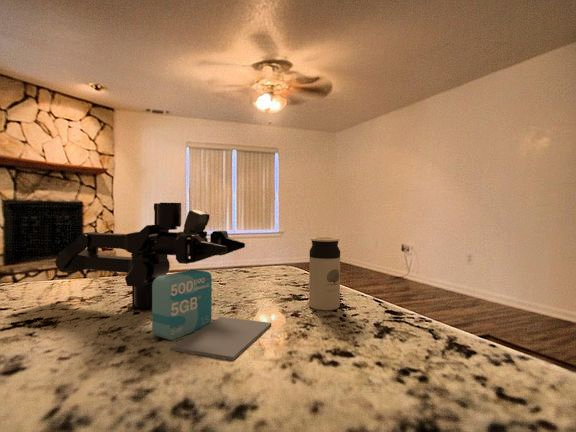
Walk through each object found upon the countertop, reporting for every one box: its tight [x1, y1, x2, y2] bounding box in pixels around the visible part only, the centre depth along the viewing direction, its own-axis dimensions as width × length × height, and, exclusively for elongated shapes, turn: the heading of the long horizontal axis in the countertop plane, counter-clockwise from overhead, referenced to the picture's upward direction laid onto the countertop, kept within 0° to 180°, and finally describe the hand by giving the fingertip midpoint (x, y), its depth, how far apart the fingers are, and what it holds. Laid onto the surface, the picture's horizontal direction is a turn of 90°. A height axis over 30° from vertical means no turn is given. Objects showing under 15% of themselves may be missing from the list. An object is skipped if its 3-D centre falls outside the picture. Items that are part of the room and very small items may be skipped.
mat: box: [170, 316, 272, 361], centre depth 67 cm, size 12×18×1 cm
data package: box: [151, 269, 213, 341], centre depth 70 cm, size 12×4×12 cm, turn 149°
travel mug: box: [308, 236, 341, 312], centre depth 89 cm, size 8×8×18 cm
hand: (236, 247), depth 79 cm, fingers open, 9 cm apart
